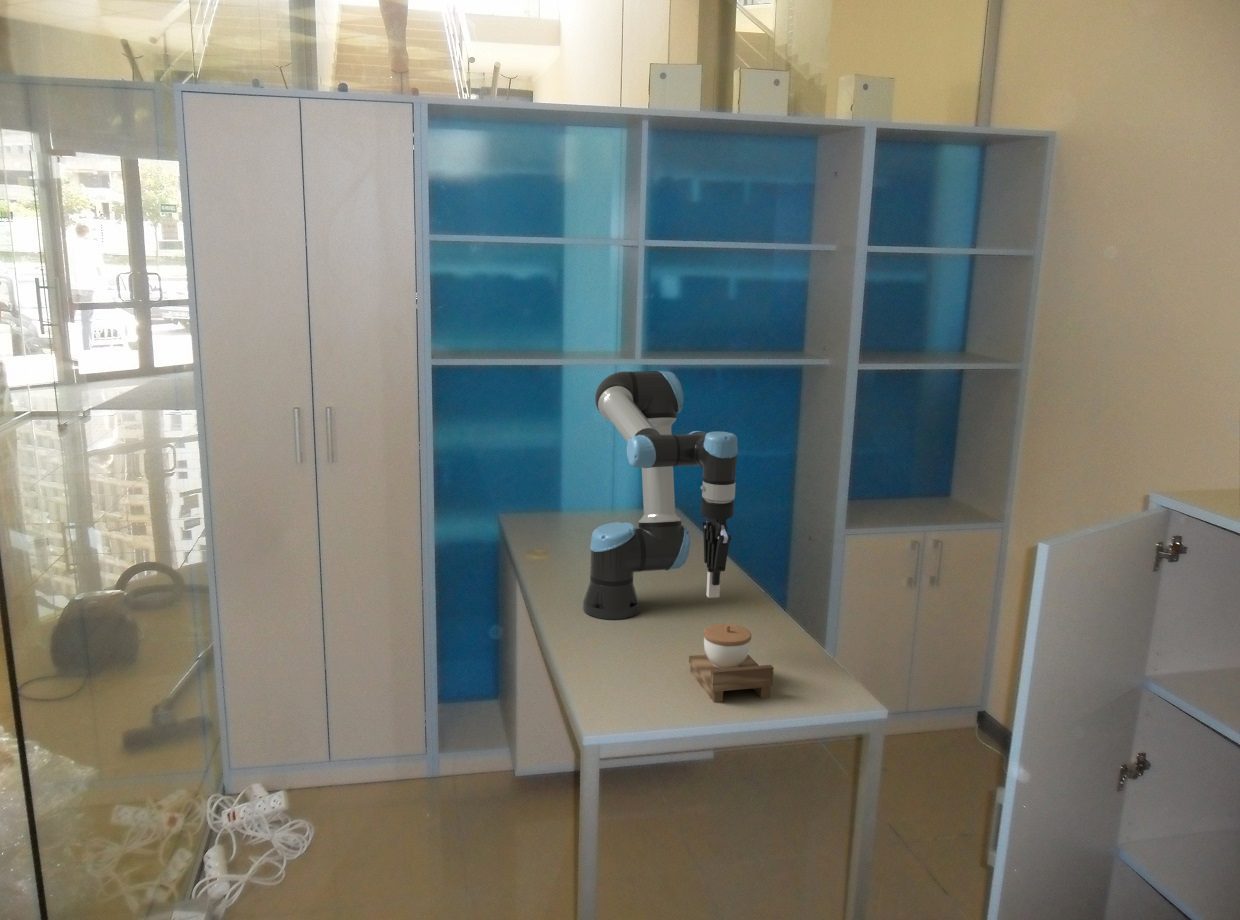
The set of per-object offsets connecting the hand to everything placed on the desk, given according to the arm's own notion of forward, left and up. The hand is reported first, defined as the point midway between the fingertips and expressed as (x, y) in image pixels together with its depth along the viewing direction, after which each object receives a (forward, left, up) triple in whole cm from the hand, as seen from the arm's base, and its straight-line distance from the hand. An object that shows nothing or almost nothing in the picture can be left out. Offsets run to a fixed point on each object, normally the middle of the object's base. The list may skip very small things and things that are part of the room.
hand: (712, 596), depth 231 cm
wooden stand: (+13, 0, -16) cm, 21 cm away
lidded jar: (+11, 0, -13) cm, 17 cm away
